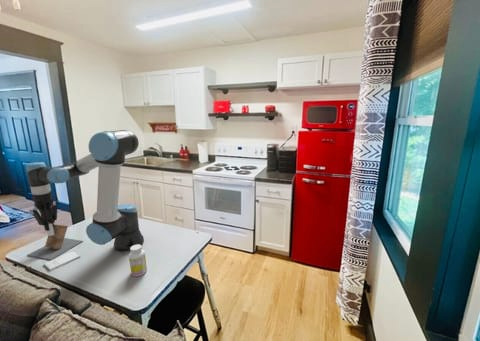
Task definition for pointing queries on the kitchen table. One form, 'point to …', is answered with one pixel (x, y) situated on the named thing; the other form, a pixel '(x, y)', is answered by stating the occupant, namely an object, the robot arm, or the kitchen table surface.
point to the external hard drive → (61, 260)
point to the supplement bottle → (137, 260)
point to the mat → (55, 250)
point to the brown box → (56, 237)
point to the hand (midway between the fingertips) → (51, 234)
